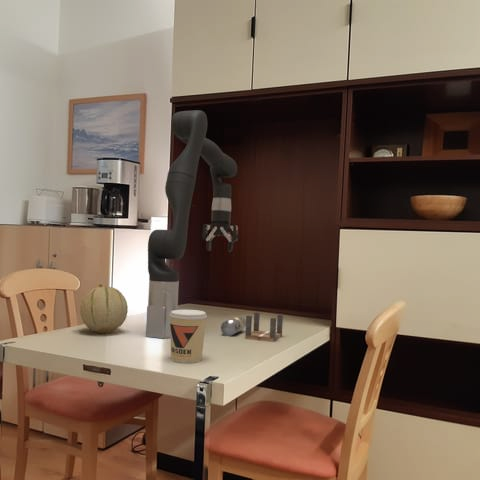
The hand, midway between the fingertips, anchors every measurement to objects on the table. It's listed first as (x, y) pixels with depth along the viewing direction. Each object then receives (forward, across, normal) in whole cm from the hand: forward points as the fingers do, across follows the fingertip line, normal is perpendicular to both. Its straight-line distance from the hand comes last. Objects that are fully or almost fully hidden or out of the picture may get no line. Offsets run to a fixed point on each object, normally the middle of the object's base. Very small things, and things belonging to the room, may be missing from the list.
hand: (219, 251), depth 191 cm
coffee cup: (+28, +17, -64) cm, 72 cm away
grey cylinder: (+27, +16, -24) cm, 40 cm away
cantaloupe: (+28, -21, -45) cm, 57 cm away
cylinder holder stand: (+27, +27, -26) cm, 46 cm away
